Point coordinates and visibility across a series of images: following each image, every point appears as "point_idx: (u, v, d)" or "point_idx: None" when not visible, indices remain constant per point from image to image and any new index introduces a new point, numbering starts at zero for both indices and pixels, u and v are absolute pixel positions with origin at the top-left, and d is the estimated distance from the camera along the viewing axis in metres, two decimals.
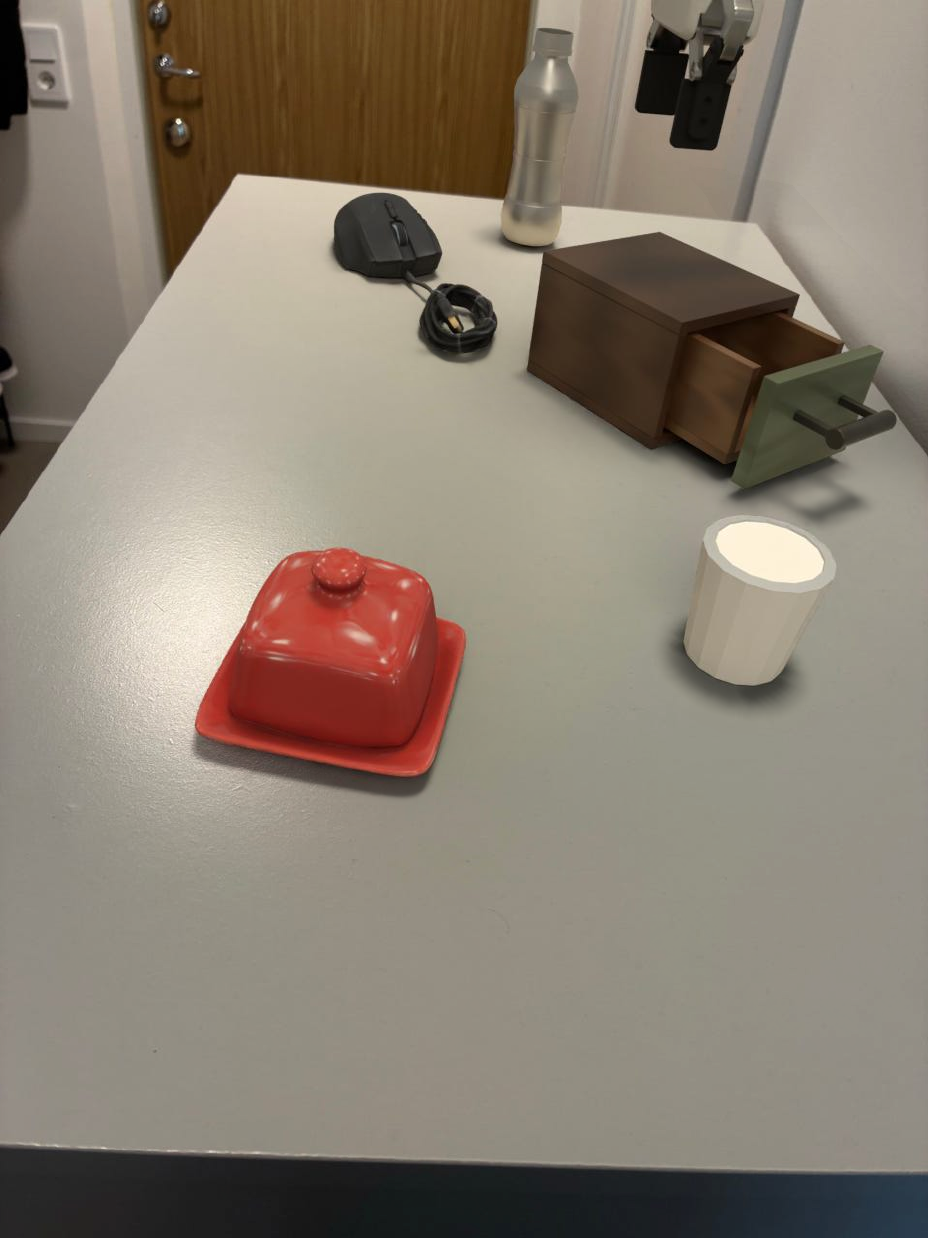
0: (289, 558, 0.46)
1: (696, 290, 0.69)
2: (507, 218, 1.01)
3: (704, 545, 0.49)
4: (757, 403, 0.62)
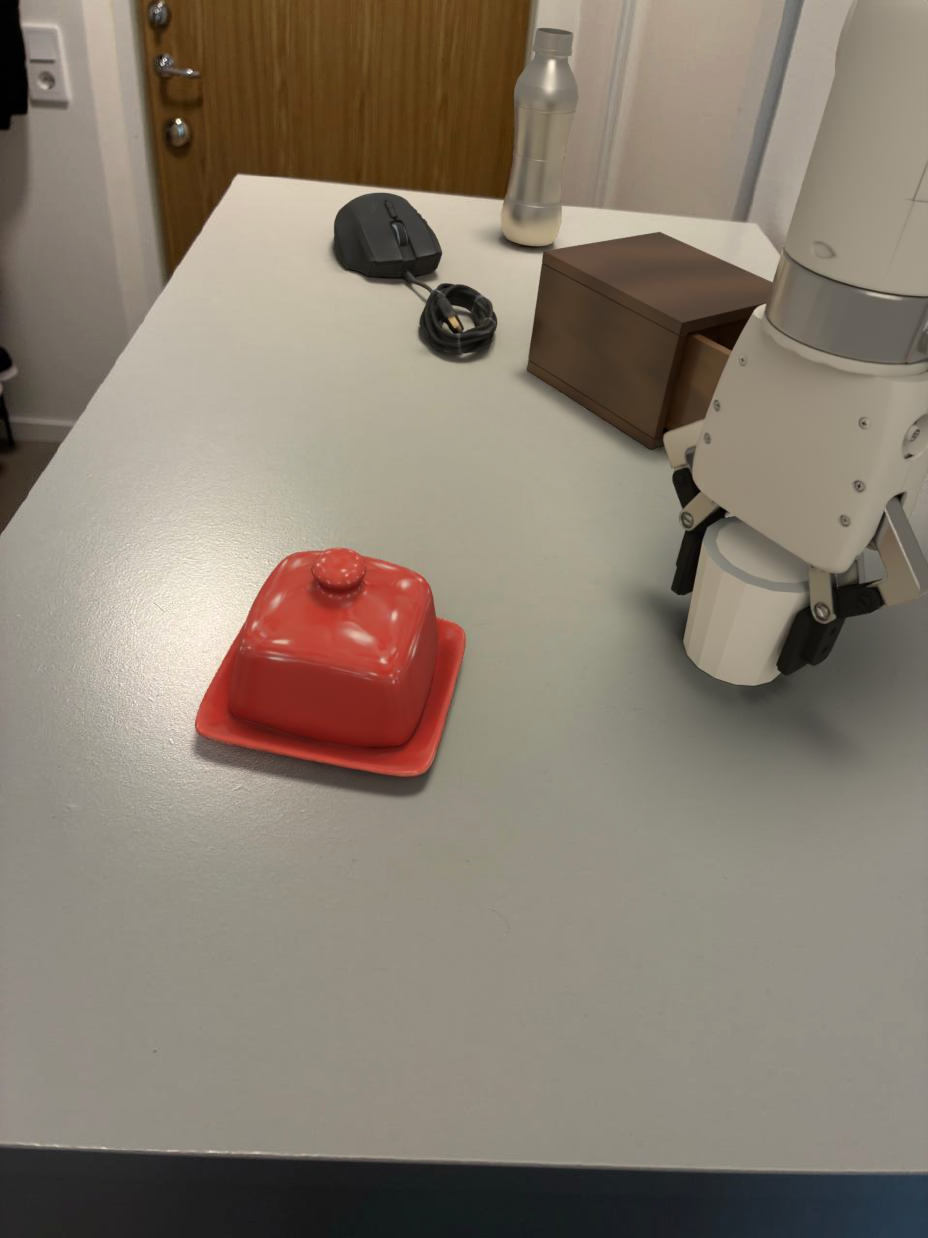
0: (289, 558, 0.46)
1: (696, 290, 0.69)
2: (507, 218, 1.01)
3: (704, 545, 0.49)
4: None
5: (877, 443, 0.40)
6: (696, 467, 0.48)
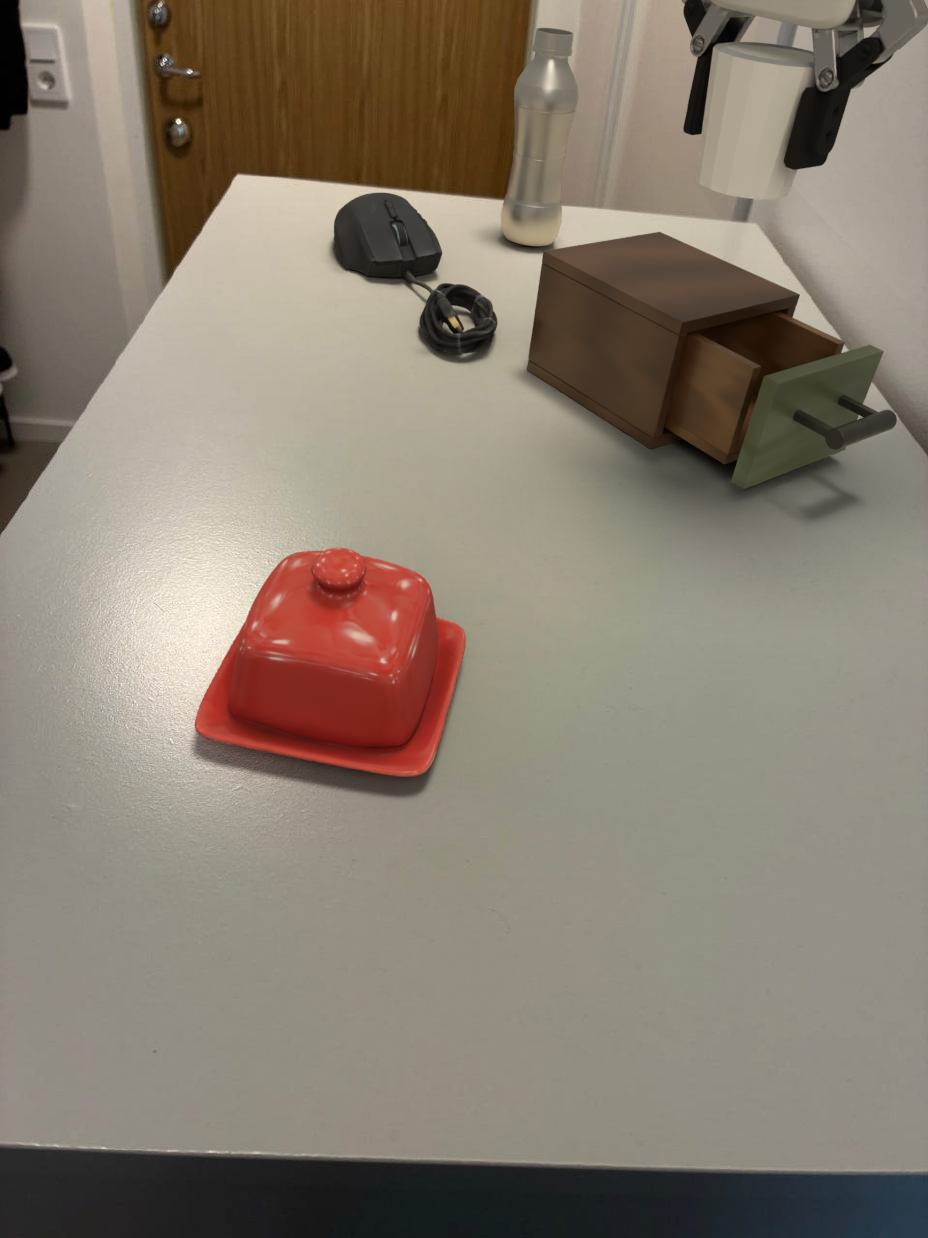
0: (289, 558, 0.46)
1: (696, 290, 0.69)
2: (507, 218, 1.01)
3: (715, 49, 0.53)
4: (757, 403, 0.62)
5: None
6: None
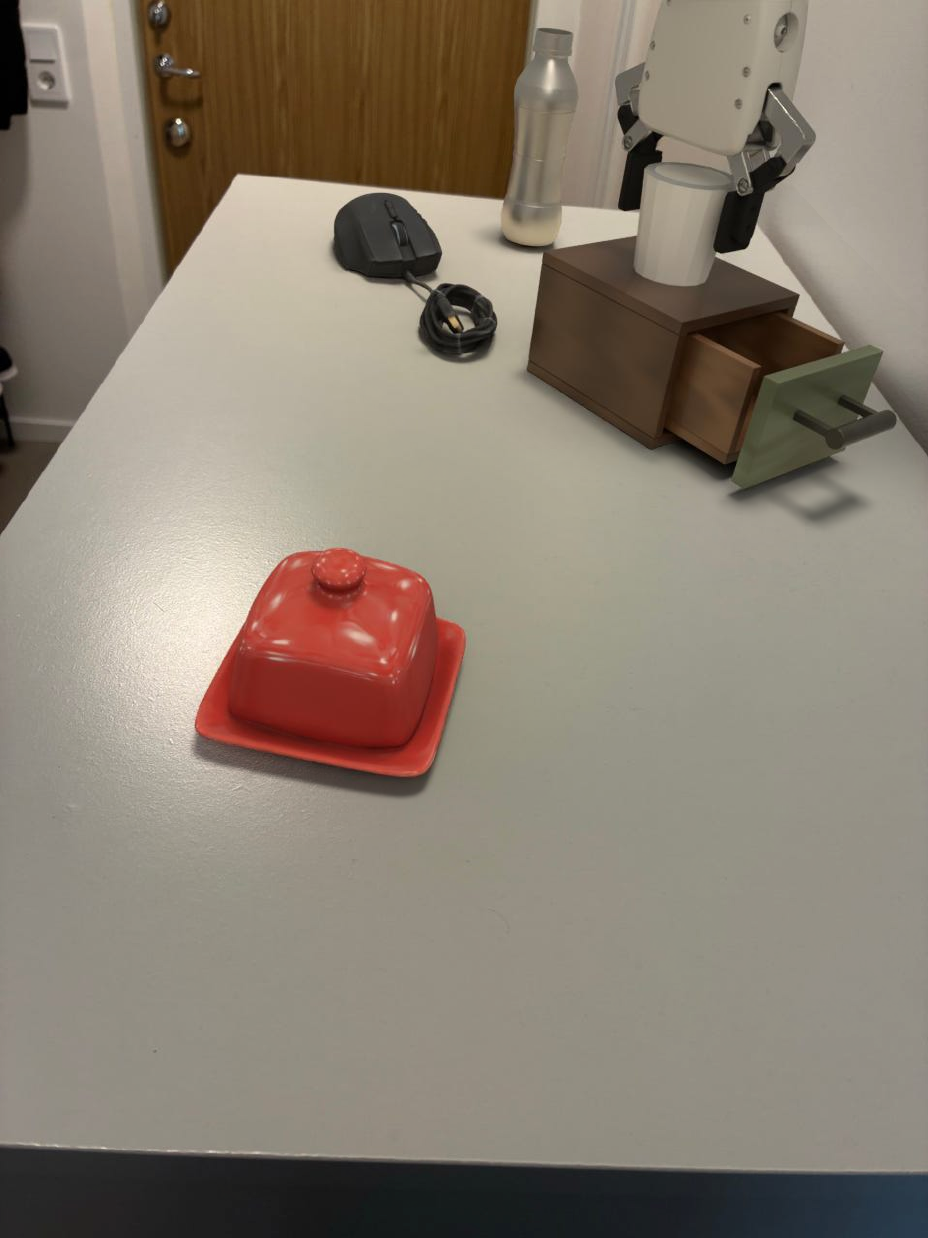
0: (289, 558, 0.46)
1: (696, 290, 0.69)
2: (507, 218, 1.01)
3: (645, 171, 0.67)
4: (757, 403, 0.62)
5: (756, 33, 0.58)
6: (640, 103, 0.67)
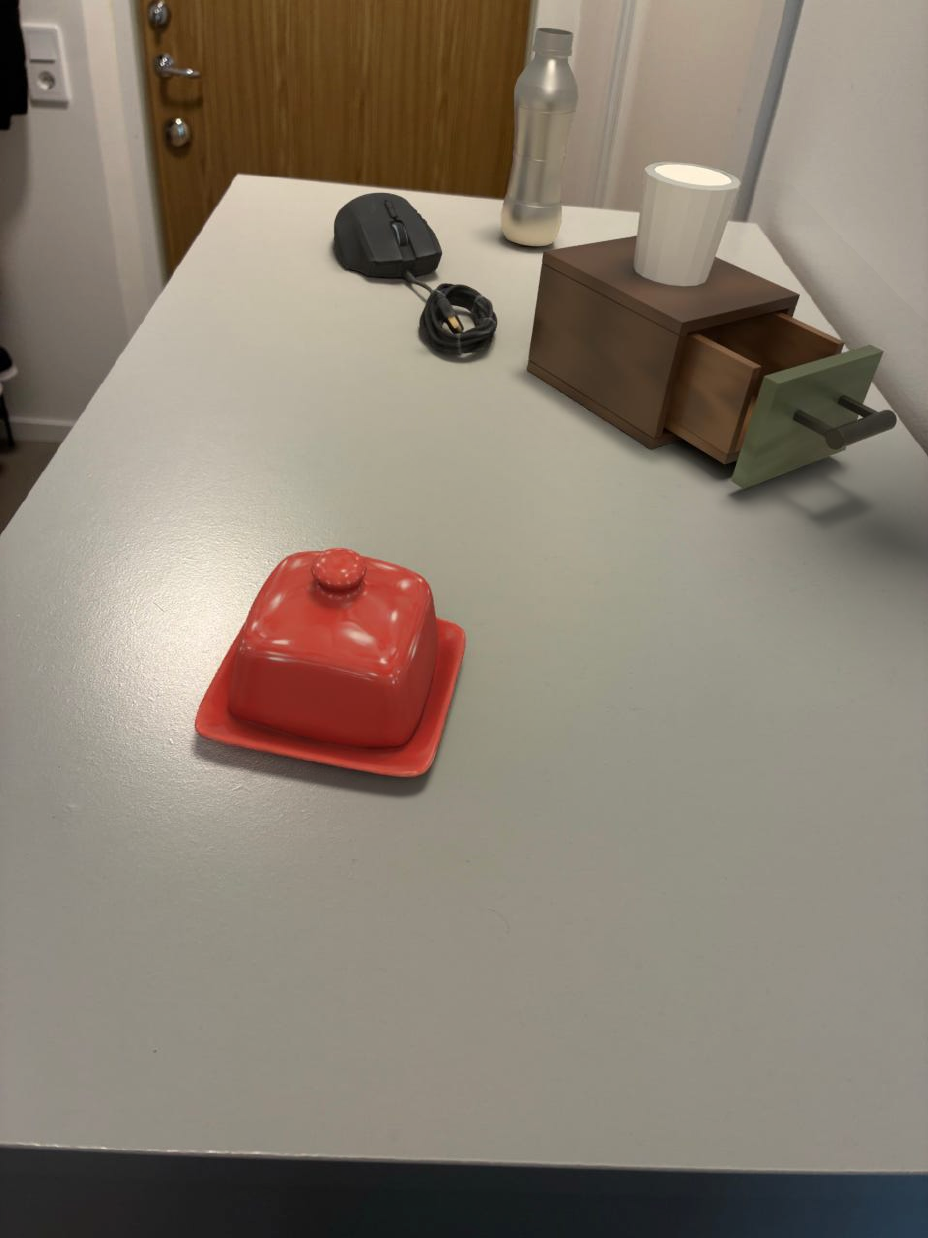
0: (289, 558, 0.46)
1: (696, 290, 0.69)
2: (507, 218, 1.01)
3: (645, 171, 0.67)
4: (757, 403, 0.62)
5: None
6: None
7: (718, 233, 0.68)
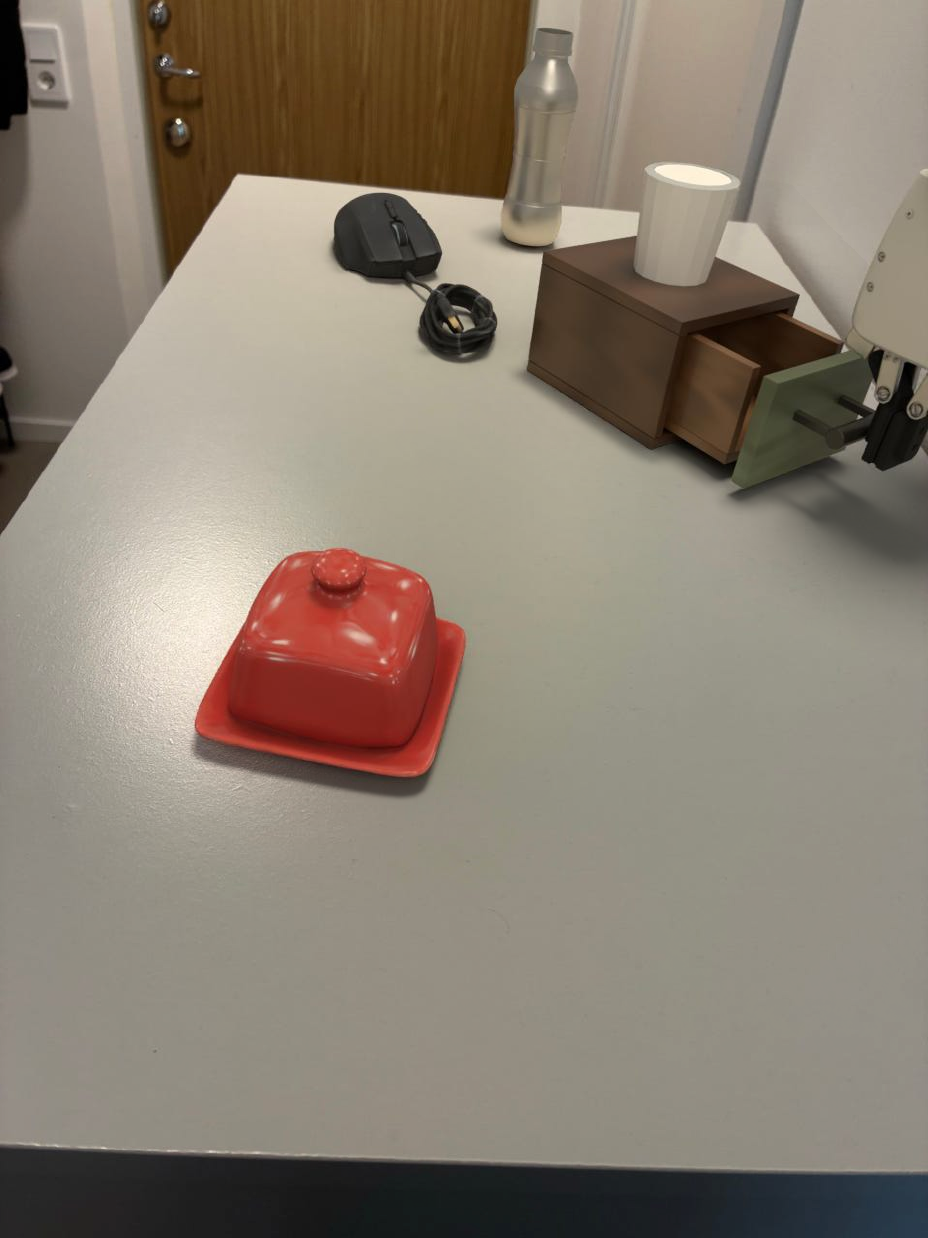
0: (289, 558, 0.46)
1: (696, 290, 0.69)
2: (507, 218, 1.01)
3: (645, 171, 0.67)
4: (757, 403, 0.62)
5: None
6: (857, 313, 0.58)
7: (718, 233, 0.68)
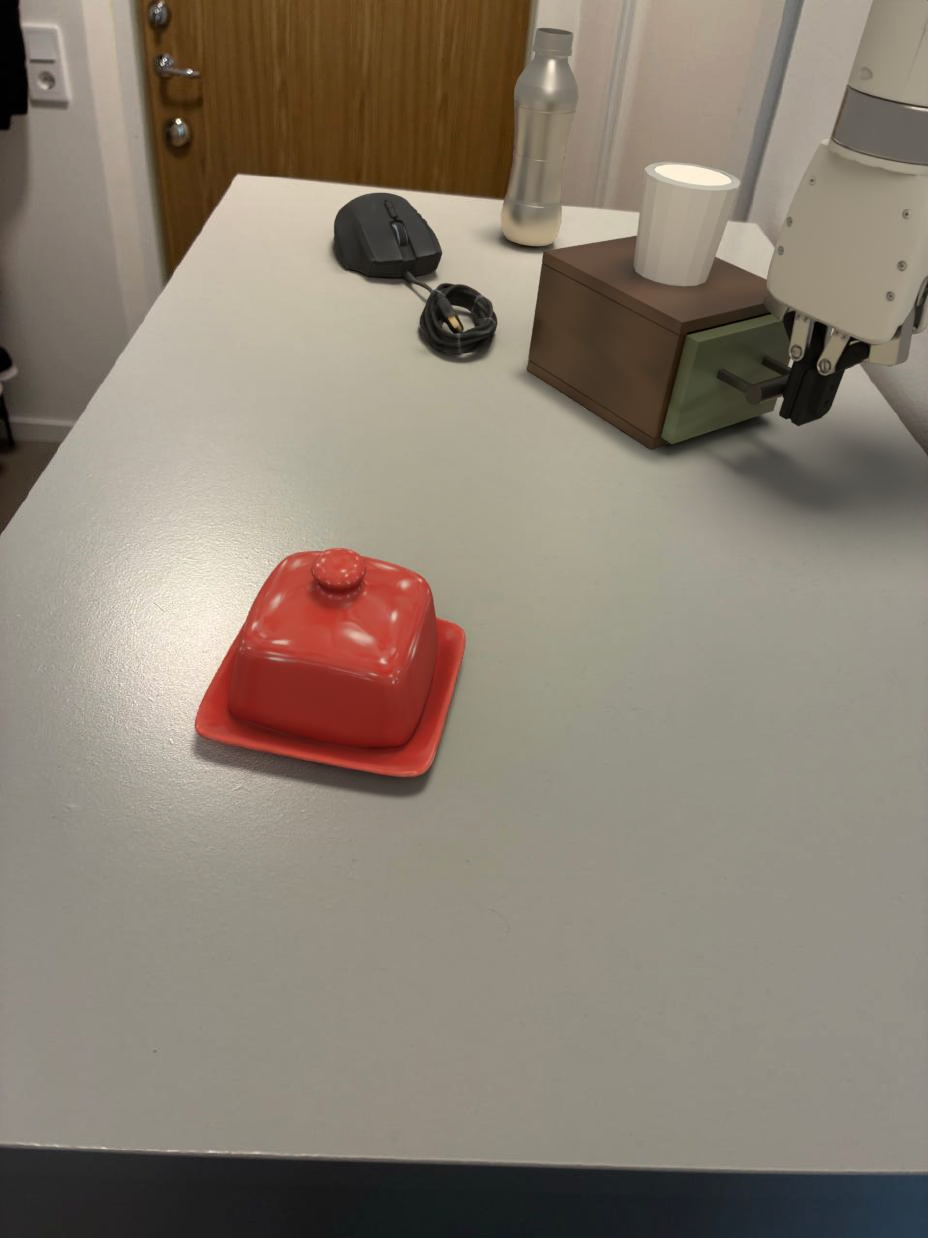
0: (289, 558, 0.46)
1: (696, 290, 0.69)
2: (507, 218, 1.01)
3: (645, 171, 0.67)
4: (681, 361, 0.66)
5: (916, 228, 0.54)
6: (771, 276, 0.63)
7: (718, 233, 0.68)
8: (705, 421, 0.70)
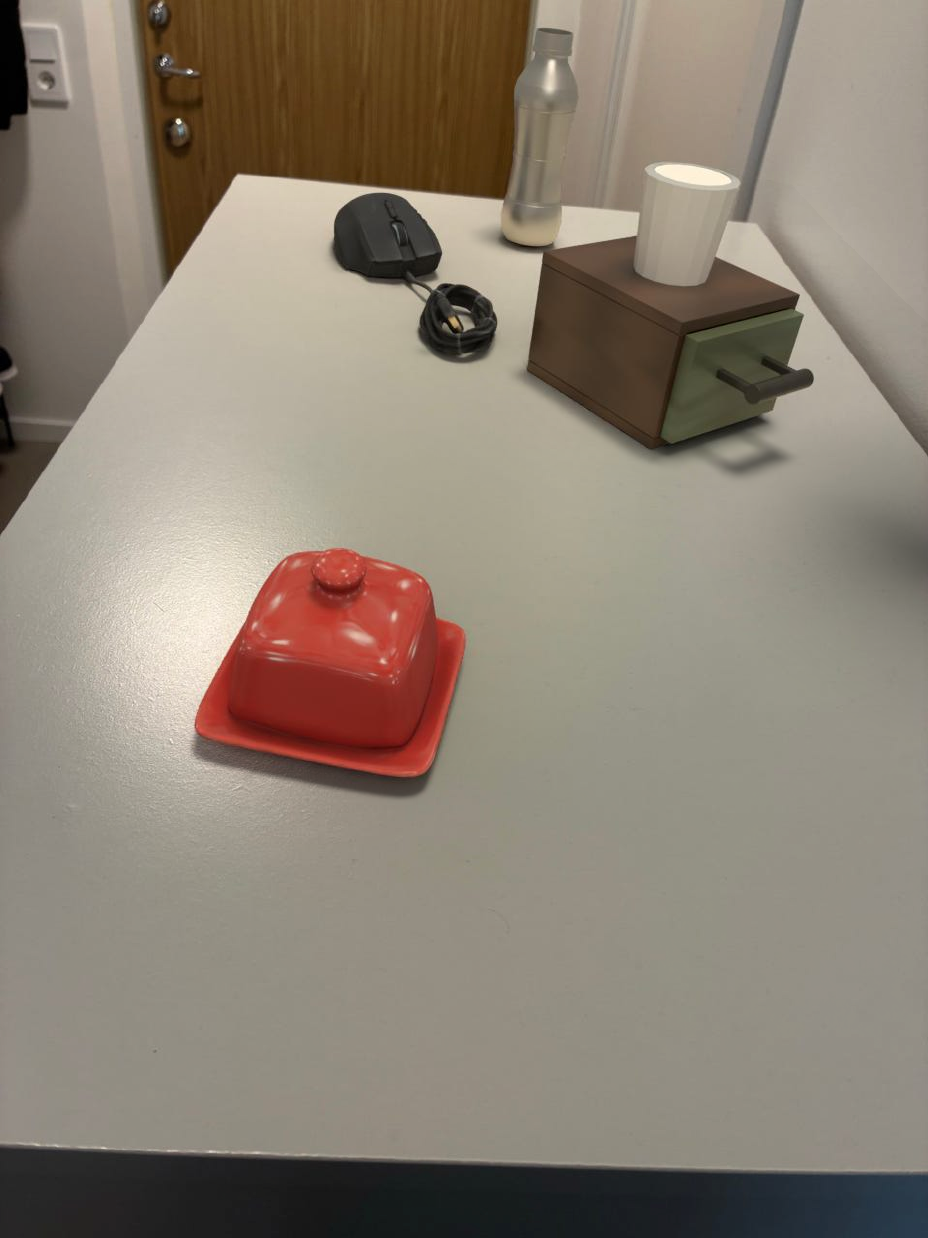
0: (289, 558, 0.46)
1: (696, 290, 0.69)
2: (507, 218, 1.01)
3: (645, 171, 0.67)
4: (680, 361, 0.66)
5: None
6: None
7: (718, 233, 0.68)
8: (704, 421, 0.70)
